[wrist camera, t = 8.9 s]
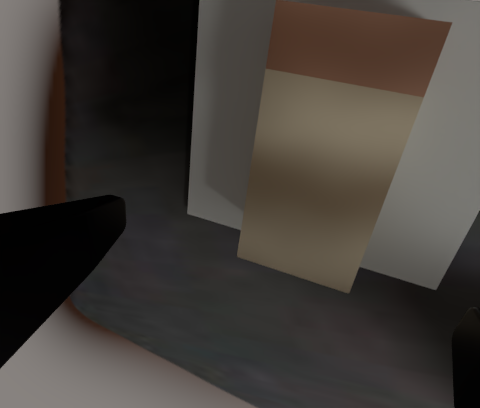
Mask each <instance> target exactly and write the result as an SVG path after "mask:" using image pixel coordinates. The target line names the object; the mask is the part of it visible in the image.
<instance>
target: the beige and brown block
mask: <svg viewBox="0 0 480 408" xmlns="http://www.w3.org/2000/svg"><path fill="white" fill-rule="evenodd" d="M452 23H453V22H445V21H437V20H430V19H422V18H414V17H406V16H399V15H391V14H383V13H376V12H368V11H360V10H352V9H345V8H337V7H329V6H322V5H314V4H306V3H299V2H291V1H283V0H276V4H275V10H274V17H273V23H272V30H271V36H270V43H269V49H268V56H267V63H266V69H265V76H264V82H263V89H262V95H261V102H260V109H259V115H258V122H257V128H256V135H255V141H254V148H253V154H252V161H251V168H250V174H249V181H248V187H247V194H246V200H245V207H244V214H243V220H242V227H241V233H240V240H239V246H238V253H237V257H239V258H242V259H245V260H248V261H251V262H254V263H257V264H260V265H263V266H266V267H269V268H273V269H276V270H279V271H282V272H285V273H288V274H291V275H294V276H297V277H300V278H303V279H306V280H309V281H312V282H315V283H318V284H321V285H324V286H327V287H330V288H333V289H336V290H339V291H342V292H345V293H348V294H349V292H350V290H351V287H352V285H353V282H354V279H355V277H356V274H357V272H358V269H359V266H360V264H361V261H362V258H363V256H364V253H365V251H366V248H367V245H368V243H369V240H370V237H371V235H372V232H373V230H374V227H375V224H376V222H377V219H378V217H379V214H380V211H381V209H382V206H383V203H384V201H385V198H386V196H387V193H388V190H389V188H390V185H391V182H392V180H393V177H394V175H395V172H396V169H397V167H398V164H399V161H400V159H401V156H402V154H403V151H404V148H405V146H406V143H407V141H408V138H409V135H410V133H411V130H412V127H413V125H414V122H415V120H416V117H417V114H418V112H419V109H420V106H421V104H422V101H423V99H424V96H425V93H426V91H427V88H428V86H429V83H430V80H431V78H432V75H433V72H434V70H435V67H436V65H437V62H438V59H439V57H440V54H441V51H442V49H443V46H444V44H445V41H446V38H447V36H448V33H449V30H450V28H451V25H452Z"/></svg>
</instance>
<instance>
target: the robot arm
mask: <svg viewBox="0 0 480 408" xmlns="http://www.w3.org/2000/svg"><path fill="white" fill-rule="evenodd" d="M125 227H126V207H125V201H124V199H123V198H120V197H117V196H114V195H105V196H99V197H94V198H88V199H82V200H76V201H71V202H65V203H60V204H54V205H48V206H42V207H37V208H31V209H25V210H20V211H14V212H8V213H3V214H0V368H1V367H2V366H3V365H4V364H5V363H6V362H7V361H8V360H9V359H10V358H11V357H12V356H13V355H14V354H15V352H16V351H17V350H18V349H19V348H20V347H21V346H22V345H23V344H24V343H25V342H26V341H27V340H28V339H29V338H30V337H31V336H32V334H33V333H34V332H35V331H36V330H37V329H38V328H39V327H40V326H41V325H42V324H43V323H44V322H45V321H46V320H47V319H48V318H49V317H50V315H51V314H52V313H53V312H54V311H55V310H56V309H57V308H58V307H59V306H60V305H61V304H62V303H63V302H64V301H65V300H66V299H67V298H68V297H69V295H70V294H71V293H72V292H73V291H74V290H75V289H76V288H77V287H78V286H79V285H80V284H81V283H82V282H83V281H84V280H85V279H86V278H87V276H88V275H89V274H90V273H91V272H92V271H93V270H94V269H95V267H96V266H97V265H98V264H99V262H100V261H101V260H102V259H103V257H104V256H105V255H106V253H107V252H108V251H109V249H110V248H111V247H112V246H113V244H114V243H115V242H116V240H117V239H118V238H119V236H120V235H121V234H122V233H123V231H124V229H125ZM452 361H453V390H454V407H455V408H480V309H479V308H476V307H472V308H470V309H468V310H467V312H466V313H465V315H464V317H463V318H462V320H461V321H460V323H459V324H458V326H457V328H456V329H455V331H454V333H453V337H452Z"/></svg>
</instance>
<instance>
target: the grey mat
mask: <svg viewBox="0 0 480 408" xmlns="http://www.w3.org/2000/svg"><path fill="white" fill-rule="evenodd" d="M283 1H291V2H299V3H306V4H314V5H322V6H329V7H337V8H345V9H352V10H360V11H368V12H376V13H383V14H391V15H399V16H406V17H414V18H422V19H430V20H437V21H445V22H453V23H452V25H451V28H450V30H449V33H448V36H447V38H446V41H445V44H444V46H443V49H442V51H441V54H440V57H439V59H438V62H437V65H436V67H435V70H434V72H433V75H432V78H431V80H430V83H429V86H428V88H427V91H426V93H425V96H424V99H423V101H422V104H421V106H420V109H419V112H418V114H417V117H416V120H415V122H414V125H413V127H412V130H411V133H410V135H409V138H408V141H407V143H406V146H405V148H404V151H403V154H402V156H401V159H400V161H399V164H398V167H397V169H396V172H395V175H394V177H393V180H392V182H391V185H390V188H389V190H388V193H387V196H386V198H385V201H384V203H383V206H382V209H381V211H380V214H379V217H378V219H377V222H376V224H375V227H374V230H373V232H372V235H371V237H370V240H369V243H368V245H367V248H366V251H365V253H364V256H363V258H362V261H361V264H360V266H359V267H362V268H365V269H368V270H372V271H375V272H378V273H381V274H385V275H388V276H391V277H394V278H398V279H401V280H404V281H407V282H411V283H414V284H417V285H420V286H424V287H427V288H430V289H433V290H436V289H437V287H438V286H439V284H440V282H441V280H442V278H443V276H444V275H445V273H446V271H447V269H448V267H449V265H450V264H451V262H452V260H453V258H454V256H455V254H456V253H457V251H458V249H459V247H460V245H461V243H462V242H463V240H464V238H465V236H466V234H467V232H468V231H469V229H470V227H471V225H472V223H473V221H474V220H475V218H476V216H477V214H478V212H479V210H480V2H479V1H470V0H283ZM275 4H276V0H200V1H199V18H198V36H197V53H196V71H195V88H194V106H193V123H192V141H191V158H190V176H189V193H188V211H187V214H190V215H193V216H196V217H200V218H203V219H206V220H209V221H213V222H216V223H219V224H222V225H226V226H229V227H232V228H235V229H239V230H241V227H242V220H243V214H244V207H245V200H246V194H247V187H248V181H249V174H250V168H251V161H252V154H253V148H254V141H255V135H256V128H257V122H258V115H259V109H260V102H261V95H262V89H263V82H264V76H265V69H266V63H267V56H268V49H269V43H270V36H271V30H272V23H273V17H274V10H275Z"/></svg>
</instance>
